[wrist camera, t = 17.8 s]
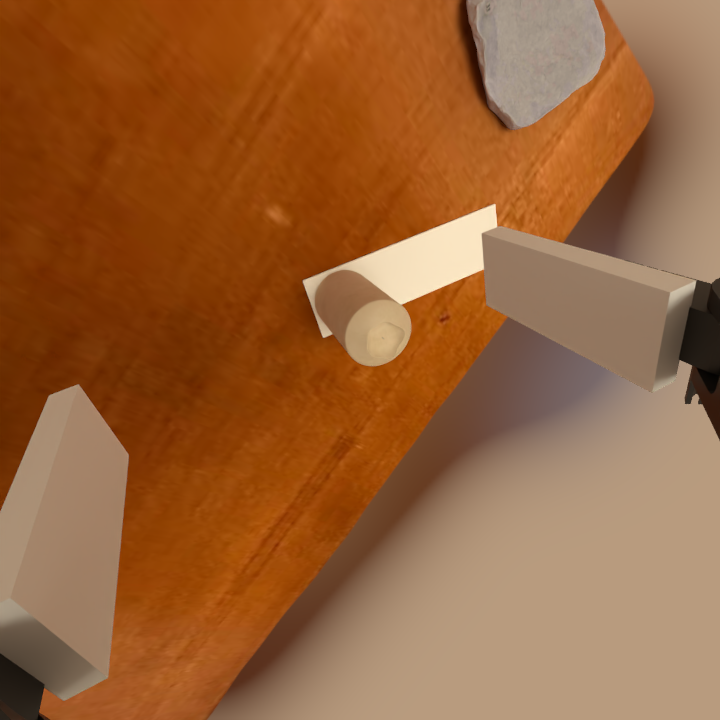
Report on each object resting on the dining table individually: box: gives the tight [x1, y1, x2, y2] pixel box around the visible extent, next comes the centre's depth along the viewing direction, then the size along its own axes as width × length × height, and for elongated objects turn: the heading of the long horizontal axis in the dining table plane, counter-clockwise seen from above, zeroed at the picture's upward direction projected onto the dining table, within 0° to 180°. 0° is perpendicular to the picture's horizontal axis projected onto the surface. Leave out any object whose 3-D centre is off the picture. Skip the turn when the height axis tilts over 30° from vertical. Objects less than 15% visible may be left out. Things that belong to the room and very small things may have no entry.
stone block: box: [466, 0, 606, 130], centre depth 35 cm, size 12×5×10 cm
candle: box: [315, 270, 411, 366], centre depth 36 cm, size 6×6×10 cm
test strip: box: [302, 204, 497, 338], centre depth 41 cm, size 20×6×1 cm, turn 106°
